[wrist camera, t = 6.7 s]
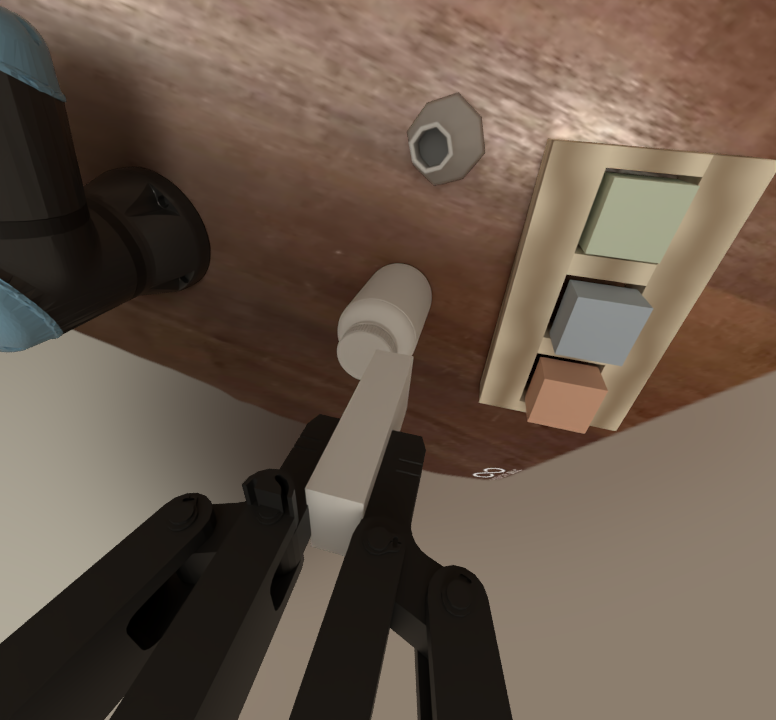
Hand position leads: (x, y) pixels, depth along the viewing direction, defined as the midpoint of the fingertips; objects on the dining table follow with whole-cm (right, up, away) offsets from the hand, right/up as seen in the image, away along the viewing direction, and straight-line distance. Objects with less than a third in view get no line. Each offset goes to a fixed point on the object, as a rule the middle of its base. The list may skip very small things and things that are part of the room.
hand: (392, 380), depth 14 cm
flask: (+5, +22, +19) cm, 30 cm away
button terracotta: (+19, -2, +26) cm, 32 cm away
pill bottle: (+1, +9, +29) cm, 30 cm away
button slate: (+20, +6, +21) cm, 29 cm away
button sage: (+21, +14, +18) cm, 31 cm away
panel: (+21, +8, +24) cm, 33 cm away
